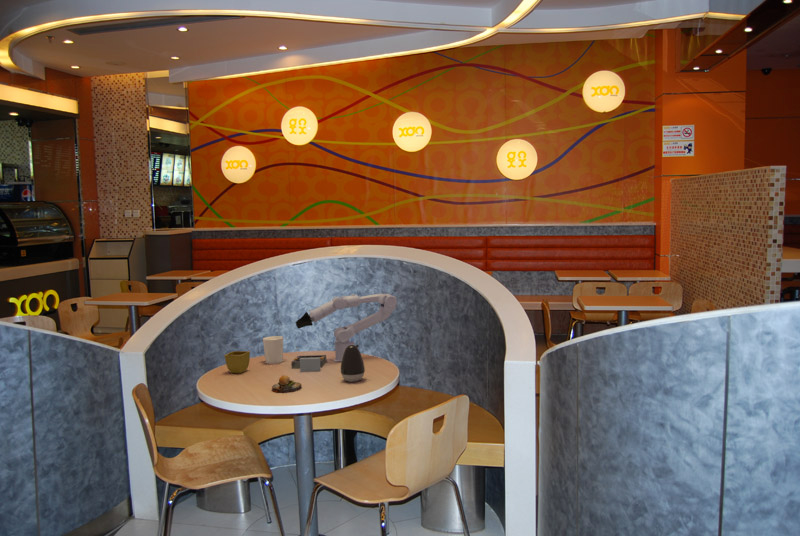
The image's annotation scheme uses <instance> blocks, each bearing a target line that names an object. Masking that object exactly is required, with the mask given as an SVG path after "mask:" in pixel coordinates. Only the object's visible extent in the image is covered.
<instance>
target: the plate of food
mask: <svg viewBox="0 0 800 536" xmlns="http://www.w3.org/2000/svg"><path fill="white" fill-rule="evenodd" d="M301 389H302V383H300V382H296V381H294V380H291V378H290V376H288V375H286V374H285V375H281V376H280V377H279V379H278V382H277V383H276V384H273V385H272V386H271V391H272V392H274V393H276V394H287V393H294V392H297V391H300V390H301Z"/></svg>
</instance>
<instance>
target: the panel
mask: <svg viewBox="0 0 800 536" xmlns="http://www.w3.org/2000/svg"><path fill="white" fill-rule="evenodd" d="M321 370H322V369H321V367H320V358H300V368H299V371H300V373H305V372H306V373H310V372H321Z"/></svg>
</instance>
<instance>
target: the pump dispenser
mask: <svg viewBox="0 0 800 536" xmlns="http://www.w3.org/2000/svg"><path fill="white" fill-rule="evenodd" d="M359 347H360V345H359V344H356V345H355V344H354V345H349V346H347V347H346V349H345V351H344V354H343V357H342V361H341V363H340V374H341V376H342V378H343V379H344V381H346V382H350V383H357V382H359V381H361V380H362V379H363V377H364V375H365V372H366V369H365V368H366V367H365V363H364V359H363V356H362V354H361V351H360V349H359Z"/></svg>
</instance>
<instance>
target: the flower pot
mask: <svg viewBox="0 0 800 536" xmlns="http://www.w3.org/2000/svg"><path fill="white" fill-rule="evenodd" d="M250 354H251V351H249V350H247V351H246V350H243V351H242V350H241V351H239V350H235V351H230V352H228V353H226V354H224V355H223V356H224V360H225V364H226V367H227V370H228V371H229V372H230V373H231V374H241V373H244V372H246V371H247V370H248V367H249V364H250V360H251V359H250V357H251V355H250Z"/></svg>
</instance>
